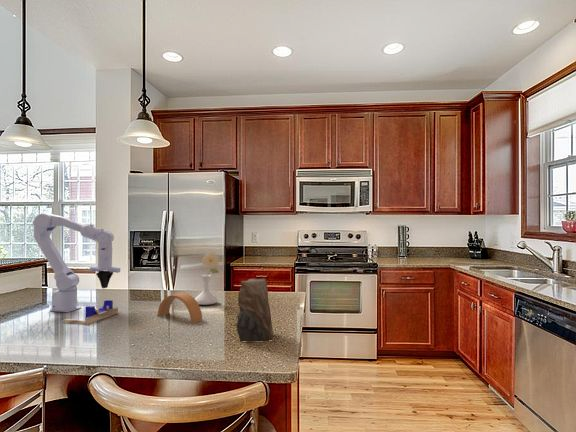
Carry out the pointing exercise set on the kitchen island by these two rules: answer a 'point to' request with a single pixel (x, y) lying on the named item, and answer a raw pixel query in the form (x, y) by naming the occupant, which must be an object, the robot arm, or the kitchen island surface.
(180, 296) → the arch
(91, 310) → the blue pipe clamp half
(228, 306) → the kitchen island surface
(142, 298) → the kitchen island surface
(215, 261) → the flower in vase
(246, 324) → the dark grey rock
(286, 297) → the kitchen island surface
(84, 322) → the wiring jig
